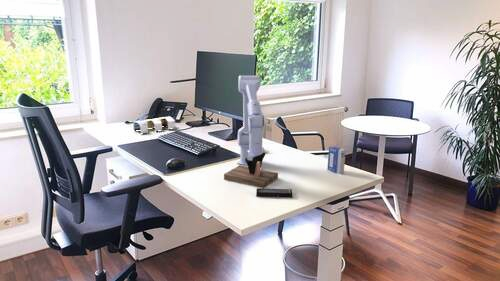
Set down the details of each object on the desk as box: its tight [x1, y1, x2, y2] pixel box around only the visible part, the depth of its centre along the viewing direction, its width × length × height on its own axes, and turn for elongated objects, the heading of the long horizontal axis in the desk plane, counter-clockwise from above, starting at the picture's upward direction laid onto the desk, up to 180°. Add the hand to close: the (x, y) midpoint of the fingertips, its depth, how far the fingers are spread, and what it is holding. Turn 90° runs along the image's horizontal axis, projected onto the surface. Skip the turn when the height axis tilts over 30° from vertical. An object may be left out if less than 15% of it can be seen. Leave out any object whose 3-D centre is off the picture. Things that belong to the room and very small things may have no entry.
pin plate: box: [223, 164, 279, 189], centre depth 173 cm, size 14×20×2 cm
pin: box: [249, 162, 261, 177], centre depth 172 cm, size 4×4×8 cm
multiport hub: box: [255, 187, 294, 199], centre depth 156 cm, size 4×14×2 cm, turn 87°
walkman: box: [326, 145, 346, 175], centre depth 182 cm, size 8×3×12 cm, turn 37°
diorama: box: [132, 115, 176, 134], centre depth 254 cm, size 25×10×13 cm, turn 132°
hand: (255, 171), depth 171 cm, fingers open, 7 cm apart
